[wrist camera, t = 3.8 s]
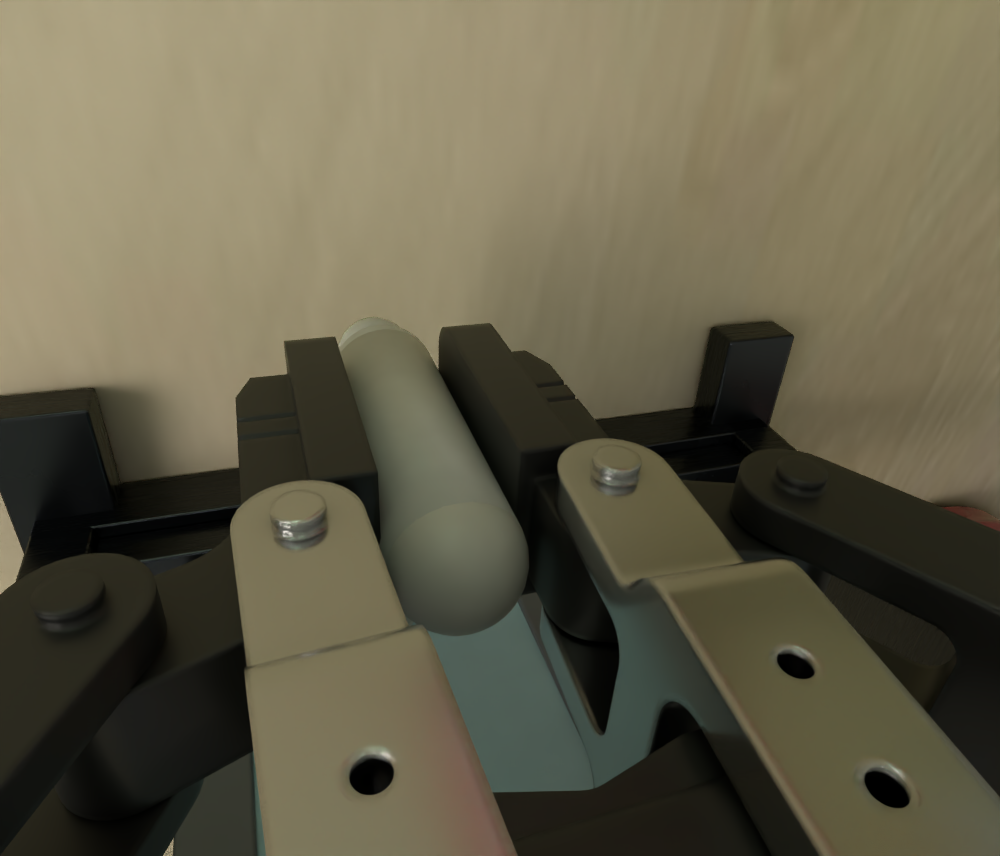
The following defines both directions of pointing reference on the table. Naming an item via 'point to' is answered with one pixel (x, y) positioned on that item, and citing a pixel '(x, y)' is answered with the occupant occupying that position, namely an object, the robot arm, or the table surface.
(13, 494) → the window frame
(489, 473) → the window pane
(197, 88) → the table surface
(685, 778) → the robot arm
